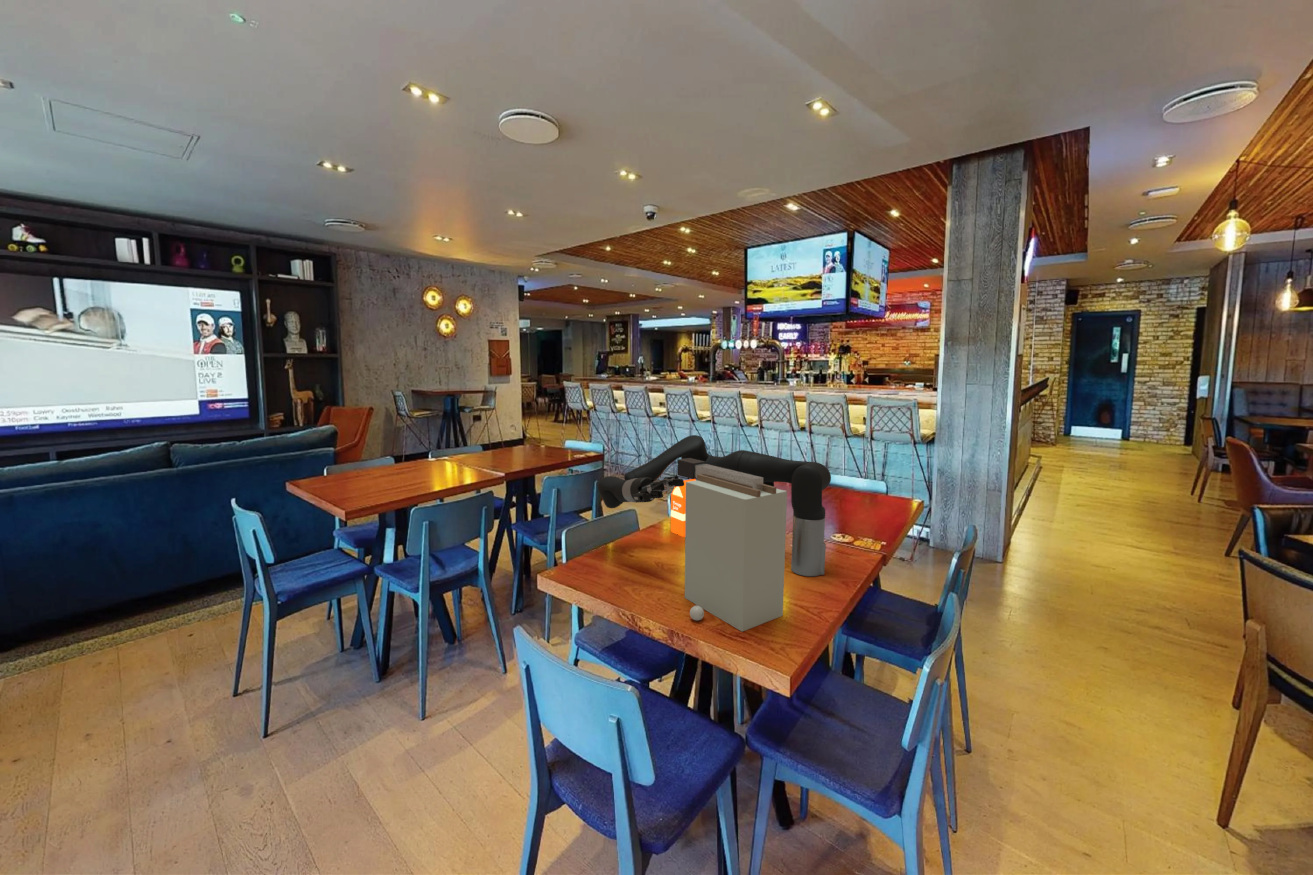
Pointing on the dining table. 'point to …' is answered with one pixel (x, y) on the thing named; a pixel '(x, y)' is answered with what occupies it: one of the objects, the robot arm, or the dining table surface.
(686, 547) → the stand
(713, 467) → the rod
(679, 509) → the orange juice
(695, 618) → the white ball
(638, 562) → the dining table surface
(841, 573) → the dining table surface
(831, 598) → the dining table surface
